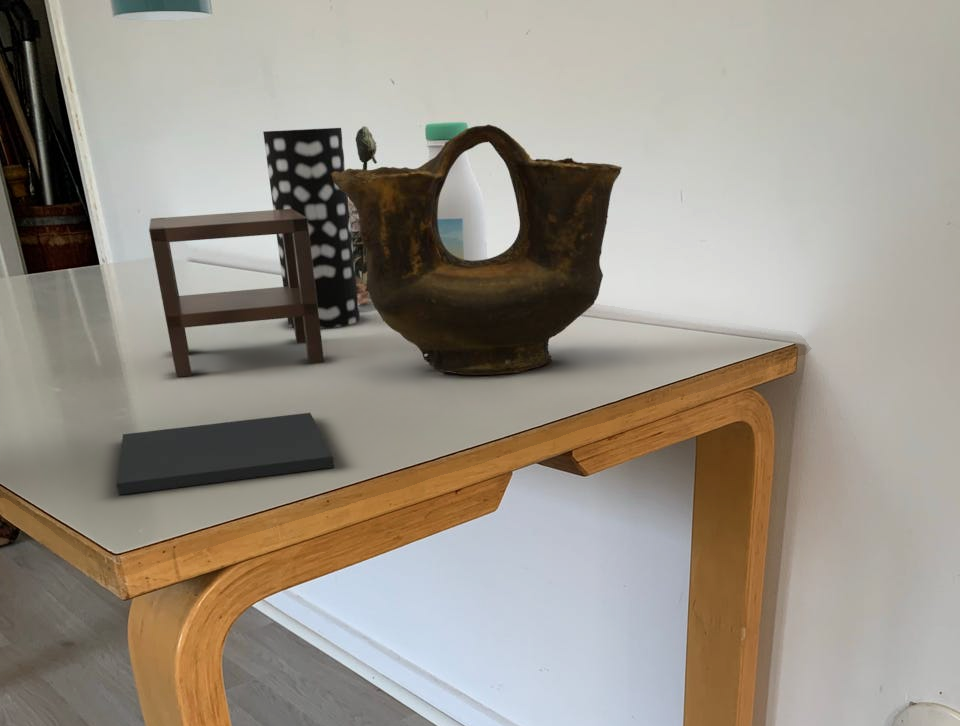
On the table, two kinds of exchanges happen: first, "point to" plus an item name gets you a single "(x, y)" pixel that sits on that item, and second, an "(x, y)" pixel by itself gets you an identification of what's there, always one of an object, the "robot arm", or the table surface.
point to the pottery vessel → (490, 282)
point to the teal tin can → (161, 9)
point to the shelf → (244, 303)
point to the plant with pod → (365, 153)
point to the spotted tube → (317, 214)
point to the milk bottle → (458, 199)
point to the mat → (221, 453)
